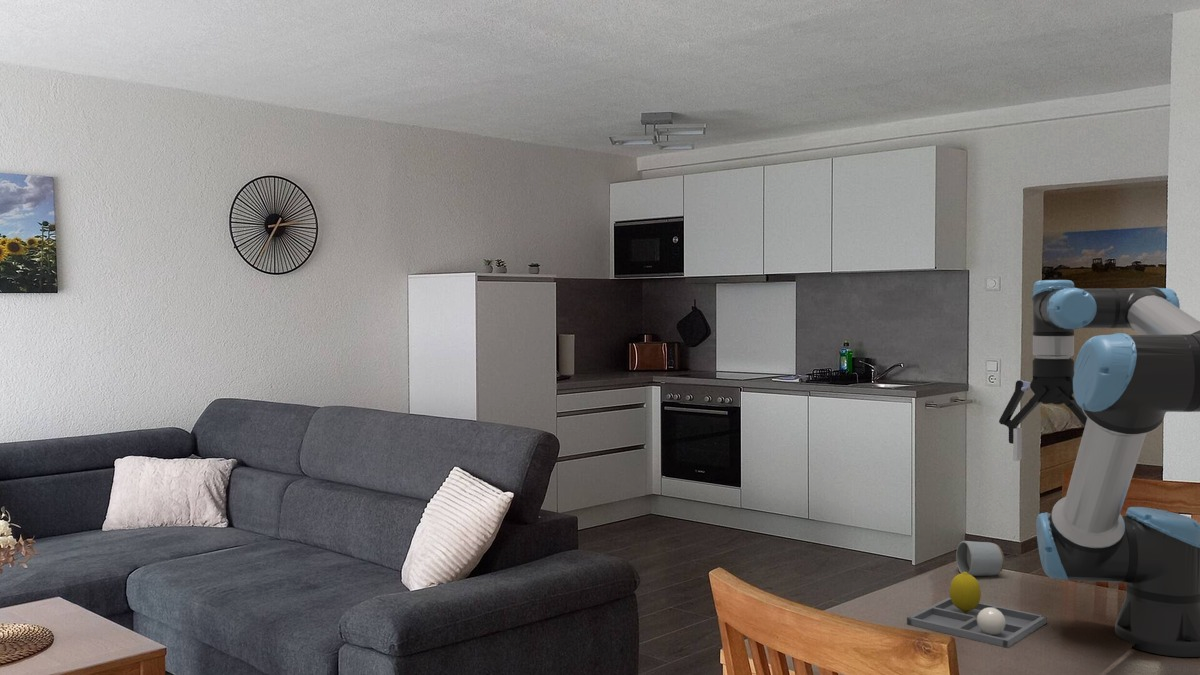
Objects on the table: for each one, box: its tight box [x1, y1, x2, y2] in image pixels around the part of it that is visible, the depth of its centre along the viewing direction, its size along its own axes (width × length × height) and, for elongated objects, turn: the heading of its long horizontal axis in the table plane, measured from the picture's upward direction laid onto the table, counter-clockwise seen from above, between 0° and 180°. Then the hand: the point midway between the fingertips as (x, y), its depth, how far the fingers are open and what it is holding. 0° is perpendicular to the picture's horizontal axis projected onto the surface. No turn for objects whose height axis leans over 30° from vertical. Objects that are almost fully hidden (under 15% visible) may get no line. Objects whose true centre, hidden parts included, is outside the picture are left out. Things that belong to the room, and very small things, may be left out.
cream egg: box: [977, 607, 1006, 635], centre depth 172 cm, size 5×5×5 cm
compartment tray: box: [906, 596, 1048, 649], centre depth 178 cm, size 18×18×2 cm
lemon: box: [949, 572, 982, 613], centre depth 184 cm, size 6×6×8 cm
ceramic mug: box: [955, 540, 1005, 577], centre depth 217 cm, size 11×8×8 cm
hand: (1052, 463), depth 193 cm, fingers open, 13 cm apart
